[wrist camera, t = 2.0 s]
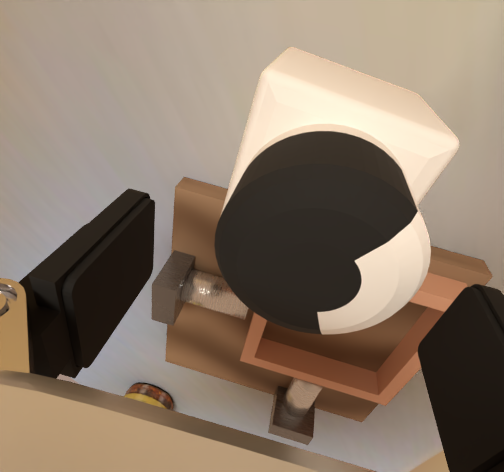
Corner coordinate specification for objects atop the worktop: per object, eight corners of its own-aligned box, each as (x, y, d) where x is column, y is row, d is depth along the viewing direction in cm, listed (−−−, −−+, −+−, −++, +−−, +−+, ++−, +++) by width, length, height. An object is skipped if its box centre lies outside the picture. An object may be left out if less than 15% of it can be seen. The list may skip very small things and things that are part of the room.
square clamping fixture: (184, 176, 22) (149, 216, 18) (483, 260, 21) (519, 323, 17) (171, 348, 34) (149, 395, 30) (361, 406, 33) (364, 464, 29)
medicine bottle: (248, 169, 21) (171, 313, 11) (287, 43, 16) (218, 102, 7) (354, 208, 21) (371, 386, 11) (422, 93, 16) (543, 224, 7)
